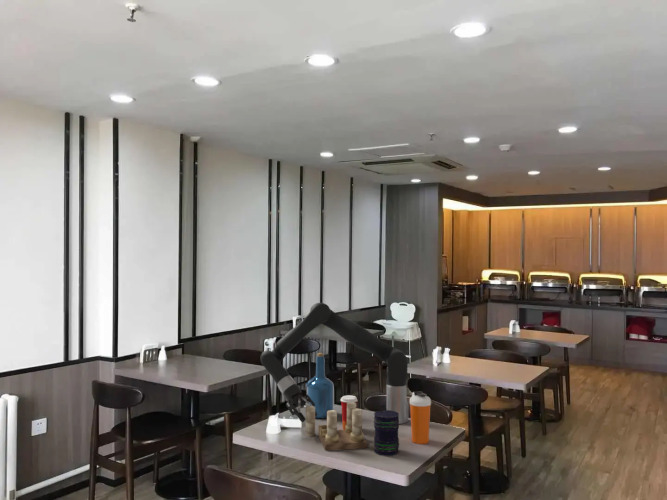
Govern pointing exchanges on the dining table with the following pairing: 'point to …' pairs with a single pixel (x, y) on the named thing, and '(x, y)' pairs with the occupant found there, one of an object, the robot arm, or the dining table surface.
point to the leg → (310, 421)
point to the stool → (343, 431)
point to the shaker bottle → (420, 417)
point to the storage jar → (386, 432)
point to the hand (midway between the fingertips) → (310, 418)
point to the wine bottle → (321, 389)
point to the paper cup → (344, 402)
